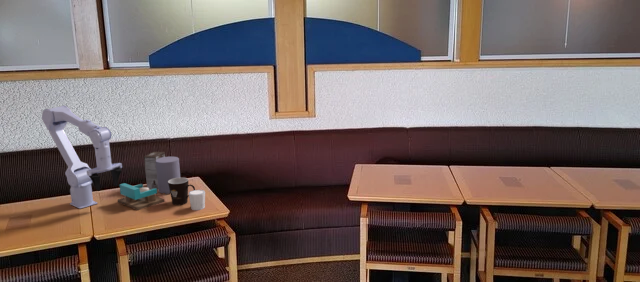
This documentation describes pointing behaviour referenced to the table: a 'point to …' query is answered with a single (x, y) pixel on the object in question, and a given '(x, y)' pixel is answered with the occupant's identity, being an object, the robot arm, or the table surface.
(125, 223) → the table surface
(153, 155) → the coffee box
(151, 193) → the teal c-shaped bracket
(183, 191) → the coffee mug
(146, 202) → the stand
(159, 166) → the container
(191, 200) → the white cylinder
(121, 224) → the table surface
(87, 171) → the robot arm
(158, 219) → the table surface
